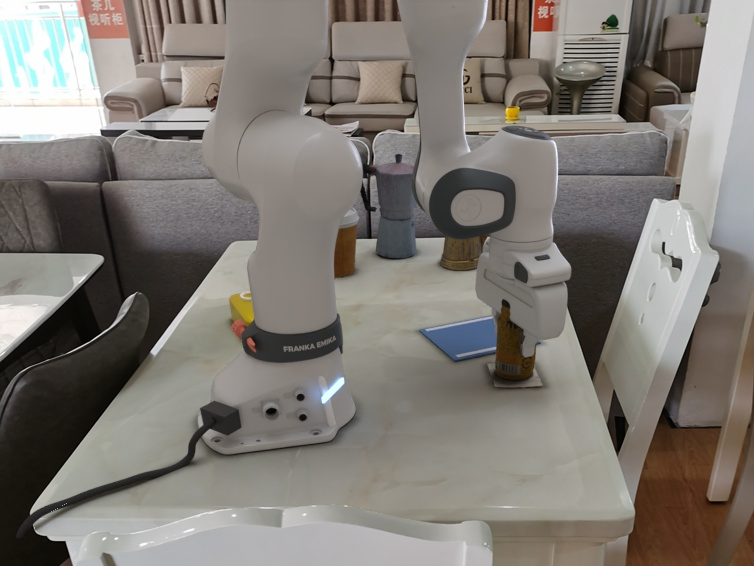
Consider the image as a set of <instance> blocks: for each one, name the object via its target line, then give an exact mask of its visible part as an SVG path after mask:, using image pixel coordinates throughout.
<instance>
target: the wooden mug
mask: <svg viewBox="0 0 754 566" xmlns="http://www.w3.org/2000/svg"><path fill="white" fill-rule="evenodd" d="M488 237H490V234H487V235H483V236H479V237H474V238H469V239H453V238H450V237H448V236H446V235H444V240H443V241H444V242H443V249H442V253H441V256H440V265H441V266H442V268H445V269H448V270H454V271H468V270H469V271H470V270H475V269H477V265H478V260H479V257H480V255H481V254H482V253H483V245H484V244H485V243H486V241H487V239H488Z"/></svg>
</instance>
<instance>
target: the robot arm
mask: <svg viewBox="0 0 754 566" xmlns="http://www.w3.org/2000/svg"><path fill="white" fill-rule="evenodd" d="M396 2H397V3H396V4H397V8H398V12H399V17H400V21H401V25H402V28H403V32H404V36H405V40H406V43H407V47H408V50H409V54H410V58H411V62H412V67H413V71H414V81H415V92H416V105H417V116H418V125H419V126H418V129H419V146H418V150H417V155H416V159H415V162H414V164H413V165H414V169H413V174H412V191H413V195H414V198H415V200H416V202H417V204H416V205H417V206H418V207H419V208H420V210H422V211H423V212H424V213H425V214H426V215H427V217H428V219H429V220H430V221H431V222H432V224H433V225H434V227H435V228H436V229H437V231H439V232H440V233H441V234H442V235H444V236H445V235H446V236H448V237H450V238H453V239H469V238H474V237H479V236H483V235H487V234H489V238H487V239H488V240H486V241H485V243H484V245H483V253H482V254H481V255H480V257H479V260H478V265H477V268H476V274H475V284H474V285H475V287H474V291H475V294H476V298H477V299H478V300H479V301H481V302H482V303H483V304H486V306H489V307H490V308H491V316H493V320H494V324H495V336H497V326H498V317H499V315H500V314H501V308H502V303H501V302H502V299H504V300H506V301H508V302H509V304H510V307H511V308H510V320H511V321H512V322H513V323H515V324H516V325H518V326H519V327H521V328H522V329H524V333H523V334H524V336H525V339H524V342H522V343H520V344H519V348H520V349H519V353H520V354H521V355H523V356H524V357H530V356H533V355H534V349H535V344H536V343H537V341H538V340H539V341H549V340H552V339H556V338H558V337H560V336H561V335H562V333H563V332H564V330H565V325H566V319H567V310H568V299H569V297H568V287H567V284H566V283H565V282H566V281H569V280H570V279H571V277H572V267H571V264H570V263H569V262H568V260H567V259H566V258H565V257H564V256H563V253H561V252H560V250H559V247H558V246H557V244H556V243H555V242H554V225H553V212H554V210H555V209H554V208H555V206H556V203H557V197H558V182H559V181H558V180H559V153H558V147H557V143H556V142H555V140H554V139H553V138H552V137H551V136H550V135H549V134H547V133H546V132H544V131H542V130H540V129H535V128H533V127H527V126H522V125H506V126H503V127H501V128H500V129H499V130H498V131H497V133H496V134H494V135H493V136H492V137H491V138H489V140H487V141H486V142H484V143H483V144H481V145H480V146H478V147H477V148H474V149H472V150H471V148H470V146H469V144H468V140H467V135H466V119H465V99H464V68H465V63H466V59H467V56H468V54H469V51H470V49H471V47H472V45H473V44H474V42H475V40H476V39H477V37H478V36H479V35H480V33H481V32H482V31H483V28H484V25H485V24H486V21H487V13H488V3H489V0H396ZM329 3H330V0H225V26H226V27H225V29H226V31H225V32H226V33H225V51H224V61H223V68H222V75H221V80H220V81H221V82H220V87H219V90H218V91H219V92H218V97H217V102H216V105H215V110H214V113H213V115H212V116H211V118H210V119H209V120H208V122H207V124H206V126H205V128H204V131H203V134H202V140H201V152H202V153H201V154H202V157H203V161H204V164H205V166H206V169H207V170H208V172H209V174H210V175H211V176H212V178H213V179H214V180H216V182H217V183H218V184H219V185H220V186H222V188H224V189H225V190H226V191H227V192H228V193H230V194H231V196H234V197H235V198H238V199H240V200H242V201H245V202H248V203H250V204H253V205H255V206H256V209H257V213H258V234H257V240H256V246H255V250H253V252H252V253H251V254H250V255H249V257H248V260H247V263H246V264H247V265H246V271H247V278H248V279H247V280H248V285H249V291H250V293H251V300H252V307H253V314H254V319H253V321H252V322H251V323H250V324H249V325H248V326H247V325H246V323H245V322H244V321H242V320H236V321H235V322H233V323H232V324H231V330H232V332H233V333H234V334H235V336H236V337H237V338H238V339H241V343H242V347H243V350H242V351H240V353H239V354H237V356H235V357H234V358H233V360H231V362H229V363H228V364H226V366H225V367H224V368H223V369H221V370H220V372H218V373H217V374H216V375H215V376H214V378H213V380H212V383H211V389H210V402H209V403H207V404H205V405H203V406H201V407H199V412H198V415H197V427H198V429H197V430H196V431H195V432H194V433H193V434H192V436H191V438H190V439H189V442H188V447H187V454H186V455H185V456H184V457H182V458H181V460H179V461H177V462H176V463H174V464H172V465H169V466H165V467H162V468H158V469H153V470H148V471H144V472H141V473H137V474H135V475H131V476H128V477H126V478H125V477H124V478H122V479H119V480H115V481H112V482H109V483H106V484H102V485H99V486H95V487H93V488H90V489H87V490H85V491H81V492H80V493H77V494H75V495H73V496H69V497H68V498H64V499H62V500H59V501H55V502H52V503H49V504H47V505H44V506H41V507H40V508H38V509H37V510H35V511H33V512H32V513H31V514H30V515H29V516H27V518H26V519H25V520H24V521H23V522H22V524H21V525H20V527H19V529H18V530H17V532H16V535H15V538H16V539H23V538H24V537H26V536H27V535H28V532H29V530H30V529H31V528H32V526H33V525H35V523H36V522H37V521H39V520H40V519H41V518H43V517H44V516H46V515H48V514H51V513H53V512H56V511H58V510H62V509H64V508H67V507H71V506H73V505H75V504H78V503H81V502H83V501H86V500H88V499H90V498H93V497H96V496H99V495H102V494H105V493H108V492H111V491H115V490H118V489H122V488H124V487H127V486H130V485H133V484H134V485H135V484H136V483H139V482H142V481H146V480H149V479H154V478H155V479H156V478H159V477H162V476H164V475H167V474H170V473H173V472H175V471H178V470H180V469H183V468H185V467H186V466H188V465H189V464H190V463H191V462H192V461H193V460H194V458H195V456H196V452H197V450H196V449H197V444H198V442H199V441H200V439H201V438H202V440H203V442H204V443H205V444H206V445H207V446H208V447H209V448H210V449H212V450H214V451H215V452H217V453H219V454H222V455H235V454H243V453H251V452H258V451H266V450H274V449H281V448H290V447H296V446H305V445H311V444H319V443H320V444H321V443H327V442H331V441H333V439H335V437H336V436H337V433H338V431H339V430H340V429H341V428H342V427H344V426H345V425H346V424H348V423H349V422H350V421H351V420H352V419H353V418H354V416H355V414H356V412H357V411H356V410H357V409H356V404H355V402H354V399H353V397H352V394H351V391H350V388H349V385H348V380H347V376H346V373H345V367H344V362H343V357H342V355H343V354H344V348H343V347H344V346H343V345H344V333H343V326H342V322H341V321H342V320H341V315H340V314H339V313H338V312H337V310H338V309H337V298H336V280H335V278H336V277H334V252H335V245H336V239H337V235H338V231H339V227H340V224H341V221H342V218H343V217H344V216H345V214H347V213H348V212H349V210H350V209H351V208H354V206H355V204H356V202H357V200H358V198H359V196H360V194H361V193H360V190H361V187H362V180H363V179H364V174H363V167H362V166H363V162H362V158H361V155H360V152H359V150H358V148H357V146H356V145H355V144H354V142H353V141H352V140H351V139H350V137H348V136H347V135H346V134H344V133H343V132H341V131H340V130H338V129H337V128H336V127H334V126H332V125H331V124H330V123H328V122H326V121H324V120H323V119H320V118H318V117H314V116H309V115H305V114H304V106H305V100H306V96H307V92H308V88H309V85H310V82H311V80H312V77H313V74H314V72H315V70H316V69H317V67H319V65H320V64H321V63H322V61H323V60H324V59H325V56H326V53H327V51H328V45H329V41H328V40H329V9H330V8H329V7H330V4H329ZM363 181H364V180H363ZM536 345H537V344H536ZM66 503H67V504H66ZM64 504H65V505H64ZM62 505H63V506H62ZM57 508H58V509H57ZM55 509H56V510H55ZM53 510H54V511H53ZM51 511H52V512H51Z"/></svg>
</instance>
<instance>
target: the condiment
mask: <svg viewBox="0 0 754 566" xmlns="http://www.w3.org/2000/svg"><path fill="white" fill-rule="evenodd" d="M501 303H502V308H501V314H500V315H499V317H498V326H497V343H496V353H495V361H494V363H487V364H486V365H487V367H488V371H489V374H490V376H491V381H492V383H493V385H494V387H495V388H522V389H523V388H528V387H530V388H531V387H543V386H544V385H543V383H542V380H541V378H540V376H539V374H538V372H537V370H536V367H535V364H536V358H537V356H536V355H537V345H538V344H537V343H536V344H535V349H534V355H533V356H530V357H524V356H523V355H521V354H520V353H519V349H520V348H519V344H520V343H522V342H524V339H525V336H524V334H523V333H524V329H522V328H521V327H519V326H518V325H516V324H515V323H513V322H512V321H511V320H510V308H511V307H510V304H509V302H508V301H506V300H504V299H502V302H501Z"/></svg>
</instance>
